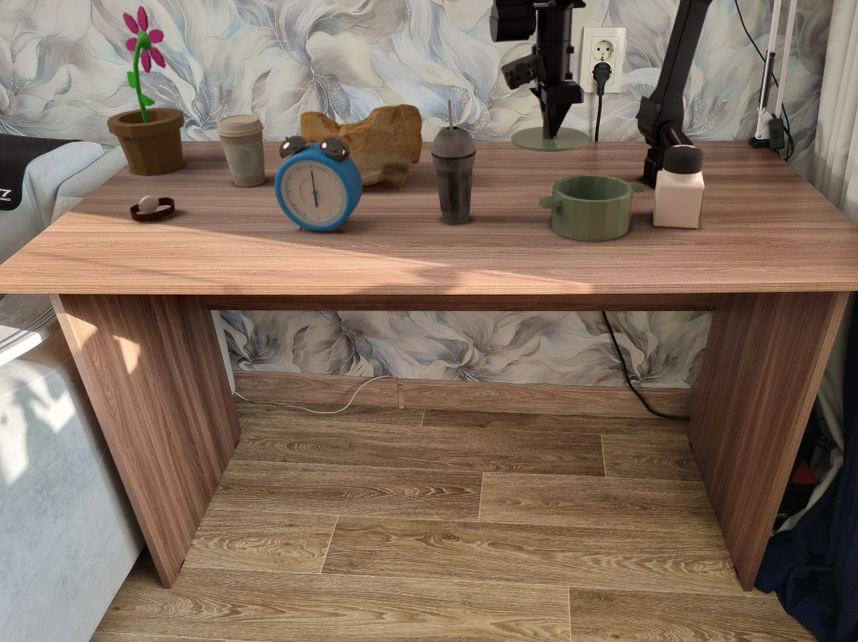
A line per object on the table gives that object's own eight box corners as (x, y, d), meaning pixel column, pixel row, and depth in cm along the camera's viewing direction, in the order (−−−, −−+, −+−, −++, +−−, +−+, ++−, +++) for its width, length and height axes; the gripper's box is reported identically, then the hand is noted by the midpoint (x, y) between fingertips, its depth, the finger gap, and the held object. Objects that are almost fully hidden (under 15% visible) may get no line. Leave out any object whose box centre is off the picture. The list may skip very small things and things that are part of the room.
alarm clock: (280, 231, 121) (265, 141, 113) (293, 217, 126) (279, 130, 118) (356, 234, 119) (346, 143, 111) (367, 220, 124) (358, 132, 116)
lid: (498, 138, 132) (498, 106, 129) (564, 128, 136) (565, 97, 133) (533, 159, 121) (534, 125, 118) (603, 148, 125) (606, 115, 122)
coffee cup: (218, 186, 140) (204, 123, 133) (245, 172, 146) (233, 112, 140) (255, 191, 137) (243, 127, 131) (281, 177, 144) (271, 115, 137)
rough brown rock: (440, 171, 147) (435, 93, 140) (421, 194, 132) (415, 108, 126) (330, 171, 151) (320, 95, 144) (300, 193, 136) (288, 110, 129)
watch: (170, 207, 131) (165, 188, 129) (182, 214, 128) (177, 194, 126) (128, 219, 127) (122, 199, 125) (139, 226, 124) (133, 206, 122)
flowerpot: (208, 162, 152) (175, 5, 136) (151, 183, 142) (107, 15, 126) (164, 152, 159) (127, 1, 143) (106, 171, 149) (59, 11, 133)
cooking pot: (523, 221, 122) (524, 183, 119) (615, 204, 128) (618, 167, 125) (560, 249, 112) (562, 209, 109) (658, 229, 118) (662, 191, 115)
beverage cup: (482, 213, 125) (481, 94, 115) (469, 230, 120) (466, 105, 109) (443, 209, 128) (438, 91, 117) (427, 225, 122) (421, 102, 111)
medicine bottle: (698, 229, 118) (710, 156, 112) (653, 226, 119) (662, 154, 113) (695, 212, 124) (706, 142, 117) (652, 210, 125) (661, 140, 119)
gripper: (495, 31, 126) (495, 122, 135) (516, 51, 111) (515, 153, 119) (558, 28, 127) (554, 119, 136) (588, 48, 112) (581, 148, 120)
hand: (550, 134), depth 128 cm, fingers closed on lid, 3 cm apart
